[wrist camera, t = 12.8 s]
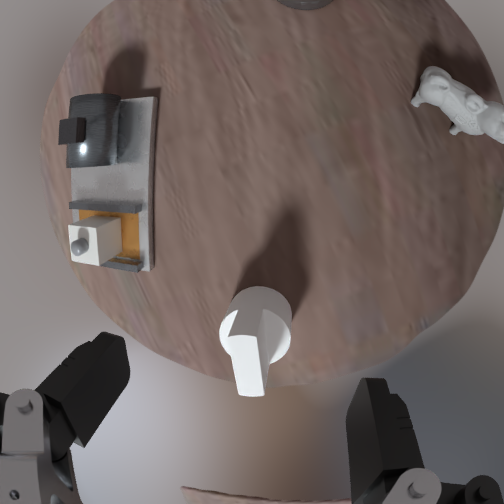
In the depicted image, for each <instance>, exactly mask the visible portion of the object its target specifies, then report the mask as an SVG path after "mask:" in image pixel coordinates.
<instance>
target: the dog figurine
mask: <svg viewBox="0 0 504 504" xmlns="http://www.w3.org/2000/svg"><path fill="white" fill-rule="evenodd" d="M420 81H421V83H420V87H419V89H418V91H417V93H416V95H415V96H414V97H413V98H412V100H411V103H412V104H413V105H414V106H416V107H419V105H420V104H421V103H423V102H427V103H430V104H432V105H435V106H439V108H440V109H441V110H442V111H443V112H444V113H445V114H446V115H447V116H448V117H449V119H450V120H451V121H452V122H454V125H453V126H451V128H450V133H451V134H453V135H456V134H457V133H458V132H460V131H463V132H465V133H468V134H471V135H482V134H484V133H486V134H487V135H489V136H490V137H492V138H493V139H495V140H497V141H499V142H500V143H503V144H504V106H503V105H501V104H500V103H497V102H493V101H489V102H486V101H485V100H484V99H483V98H482V97H480V96H479V95H477V94H476V93H475V92H474V91H473V90H472V89H470V88H469V87H467V86H465V85H463V84H462V83H460V82H458V81H456V80H453V79H452V78H451V76H450V74H448V73H447V72H446V71H445V70H443V69H441V68H439V67H436V66H429V67H427V68H426V69H425V70H424V72H423V74H422V75H421V77H420Z"/></svg>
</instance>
